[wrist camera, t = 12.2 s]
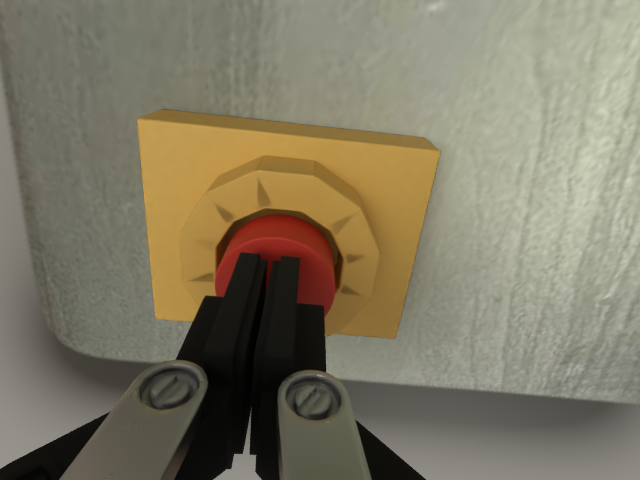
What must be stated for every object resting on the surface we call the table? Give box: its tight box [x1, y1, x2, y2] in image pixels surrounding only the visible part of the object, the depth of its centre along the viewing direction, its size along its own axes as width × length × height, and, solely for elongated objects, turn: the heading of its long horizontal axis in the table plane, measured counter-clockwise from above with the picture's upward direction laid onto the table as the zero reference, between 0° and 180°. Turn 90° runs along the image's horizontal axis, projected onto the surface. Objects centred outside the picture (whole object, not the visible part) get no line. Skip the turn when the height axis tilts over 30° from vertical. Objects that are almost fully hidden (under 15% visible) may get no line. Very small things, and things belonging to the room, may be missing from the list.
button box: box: [137, 109, 440, 339], centre depth 15 cm, size 10×8×4 cm
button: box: [215, 214, 335, 317], centre depth 13 cm, size 4×4×2 cm
